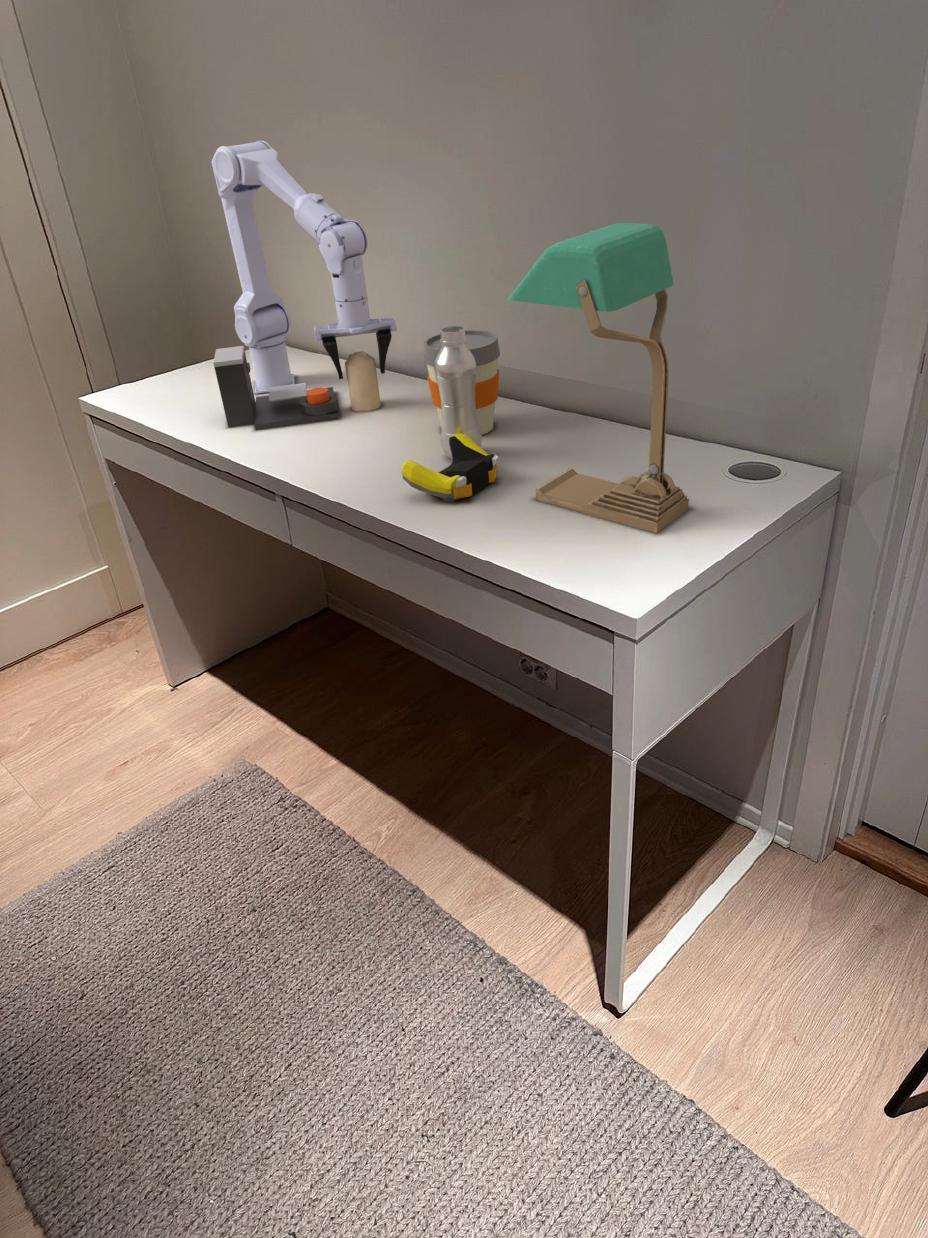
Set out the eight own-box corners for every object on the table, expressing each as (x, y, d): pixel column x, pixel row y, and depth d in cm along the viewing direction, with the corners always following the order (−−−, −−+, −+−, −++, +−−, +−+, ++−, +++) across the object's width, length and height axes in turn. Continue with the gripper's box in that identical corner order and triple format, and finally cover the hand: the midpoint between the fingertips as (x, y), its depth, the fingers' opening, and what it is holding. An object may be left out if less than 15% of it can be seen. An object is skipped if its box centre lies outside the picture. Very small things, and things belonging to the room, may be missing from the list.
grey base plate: (257, 402, 171) (253, 387, 169) (335, 392, 172) (333, 377, 171) (255, 430, 157) (252, 414, 156) (341, 419, 159) (338, 403, 157)
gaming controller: (398, 498, 128) (452, 512, 123) (394, 463, 125) (449, 476, 120) (459, 461, 138) (511, 473, 133) (456, 428, 135) (509, 438, 130)
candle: (379, 410, 161) (372, 356, 156) (349, 412, 162) (341, 358, 156) (382, 400, 166) (375, 347, 160) (353, 402, 166) (345, 349, 161)
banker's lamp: (641, 544, 111) (652, 251, 92) (512, 507, 123) (498, 240, 104) (701, 498, 121) (722, 224, 102) (575, 468, 133) (573, 217, 114)
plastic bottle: (491, 453, 140) (483, 326, 129) (463, 467, 136) (452, 337, 125) (462, 445, 144) (452, 320, 133) (433, 458, 140) (421, 331, 129)
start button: (307, 399, 162) (305, 388, 160) (329, 396, 162) (327, 386, 161) (308, 406, 158) (306, 395, 157) (330, 403, 159) (328, 392, 158)
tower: (230, 409, 168) (216, 346, 162) (308, 399, 170) (297, 336, 164) (228, 427, 160) (213, 362, 153) (310, 416, 161) (298, 351, 155)
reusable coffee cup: (518, 428, 148) (514, 339, 140) (455, 447, 143) (447, 356, 135) (478, 409, 158) (472, 325, 149) (418, 427, 152) (408, 340, 144)
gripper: (310, 308, 149) (323, 386, 156) (394, 297, 150) (403, 375, 158) (309, 299, 155) (321, 375, 162) (390, 289, 156) (398, 364, 164)
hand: (361, 374), depth 160 cm, fingers open, 7 cm apart
